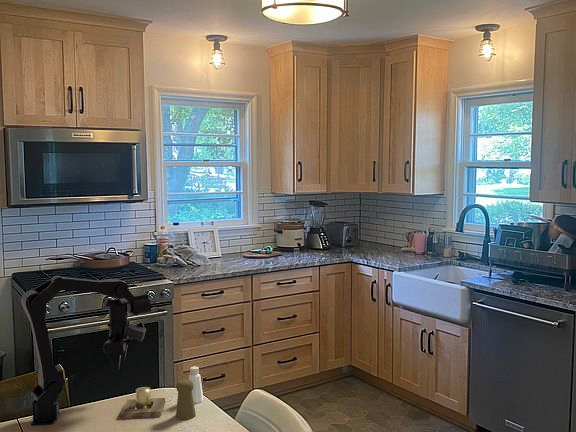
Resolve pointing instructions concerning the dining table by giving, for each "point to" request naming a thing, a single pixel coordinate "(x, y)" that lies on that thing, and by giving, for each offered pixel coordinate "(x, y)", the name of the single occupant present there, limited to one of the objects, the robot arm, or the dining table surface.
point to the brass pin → (143, 398)
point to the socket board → (154, 411)
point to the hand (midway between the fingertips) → (119, 365)
